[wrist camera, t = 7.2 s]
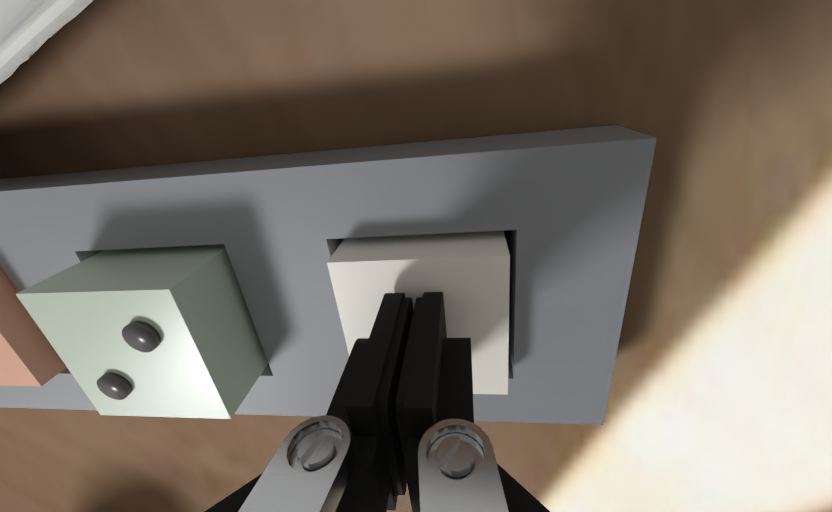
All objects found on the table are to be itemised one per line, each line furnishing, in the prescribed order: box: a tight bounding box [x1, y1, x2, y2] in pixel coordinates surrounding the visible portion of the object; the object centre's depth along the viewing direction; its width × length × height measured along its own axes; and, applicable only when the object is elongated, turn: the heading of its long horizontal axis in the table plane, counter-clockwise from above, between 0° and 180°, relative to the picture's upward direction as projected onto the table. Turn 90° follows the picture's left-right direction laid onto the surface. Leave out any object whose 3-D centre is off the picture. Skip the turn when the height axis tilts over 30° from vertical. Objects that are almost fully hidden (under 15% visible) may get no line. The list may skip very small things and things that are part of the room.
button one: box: [327, 230, 510, 395], centre depth 12 cm, size 5×5×3 cm
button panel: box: [0, 125, 657, 425], centre depth 14 cm, size 30×10×2 cm, turn 96°
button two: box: [16, 244, 268, 419], centre depth 12 cm, size 5×5×3 cm
